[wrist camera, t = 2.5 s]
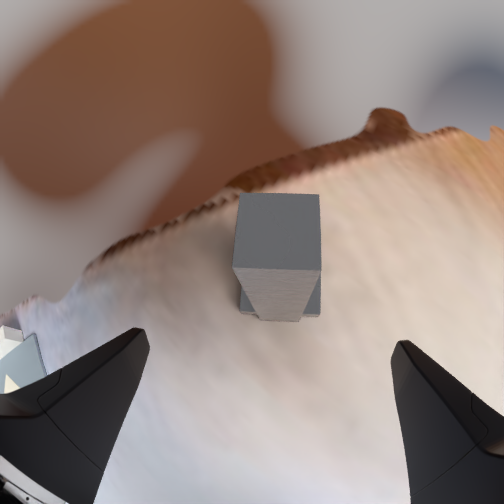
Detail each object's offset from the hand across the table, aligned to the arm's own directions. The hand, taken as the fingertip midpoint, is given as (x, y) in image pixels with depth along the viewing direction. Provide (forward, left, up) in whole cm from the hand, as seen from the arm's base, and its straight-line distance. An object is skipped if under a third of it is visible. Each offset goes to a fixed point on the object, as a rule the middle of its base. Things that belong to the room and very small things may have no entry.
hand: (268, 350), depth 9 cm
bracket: (+6, -4, -11) cm, 13 cm away
